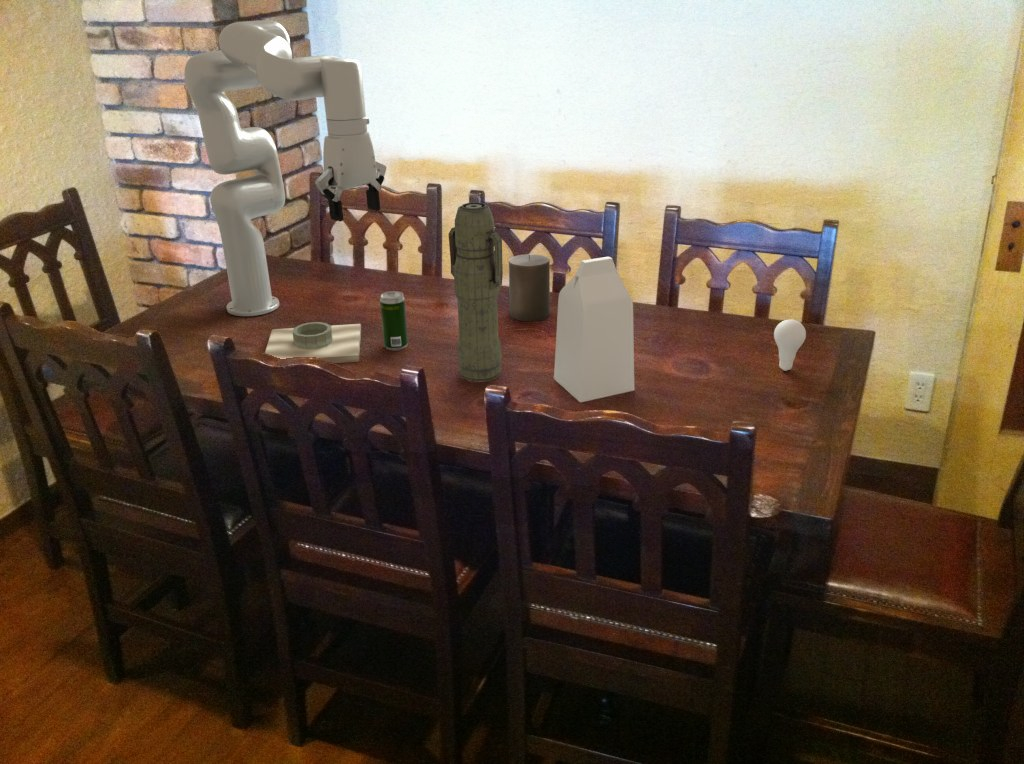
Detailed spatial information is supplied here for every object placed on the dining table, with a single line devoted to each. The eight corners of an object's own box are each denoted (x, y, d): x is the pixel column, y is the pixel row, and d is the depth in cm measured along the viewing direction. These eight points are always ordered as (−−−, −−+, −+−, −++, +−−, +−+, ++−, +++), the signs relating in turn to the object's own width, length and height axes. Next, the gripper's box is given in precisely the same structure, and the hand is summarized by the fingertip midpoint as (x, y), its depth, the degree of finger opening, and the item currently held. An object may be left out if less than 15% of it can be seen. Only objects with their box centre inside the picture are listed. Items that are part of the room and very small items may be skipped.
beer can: (410, 348, 190) (407, 297, 185) (386, 352, 188) (382, 300, 183) (405, 339, 195) (401, 289, 189) (381, 343, 193) (377, 292, 188)
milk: (580, 402, 166) (582, 273, 154) (553, 378, 175) (554, 255, 164) (634, 390, 170) (640, 263, 158) (605, 368, 179) (609, 247, 168)
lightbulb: (795, 379, 173) (803, 328, 168) (765, 372, 176) (771, 322, 171) (804, 367, 178) (811, 318, 173) (774, 361, 181) (780, 312, 176)
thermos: (466, 359, 184) (459, 197, 169) (515, 370, 179) (512, 203, 164) (443, 375, 177) (434, 207, 162) (493, 387, 172) (488, 214, 157)
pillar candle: (550, 321, 203) (550, 260, 196) (508, 322, 203) (507, 260, 197) (549, 307, 212) (549, 248, 205) (509, 307, 212) (508, 248, 206)
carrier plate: (273, 335, 198) (270, 317, 196) (361, 329, 200) (359, 311, 198) (263, 368, 182) (259, 348, 180) (358, 361, 184) (356, 342, 182)
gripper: (367, 119, 174) (375, 203, 182) (298, 132, 162) (309, 221, 170) (393, 122, 170) (400, 208, 177) (323, 136, 158) (334, 227, 165)
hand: (355, 214), depth 173 cm, fingers open, 9 cm apart
